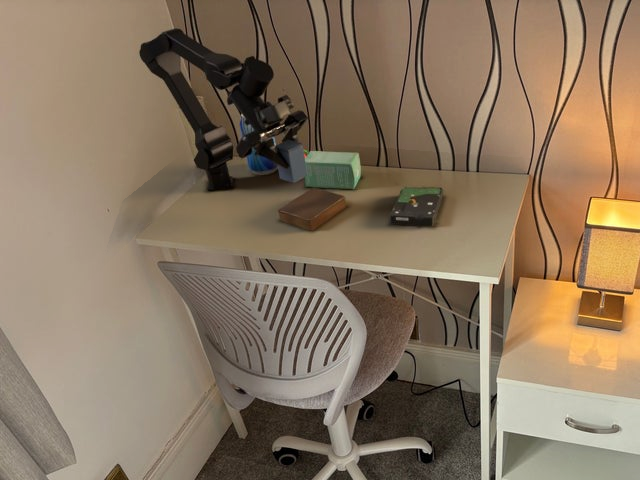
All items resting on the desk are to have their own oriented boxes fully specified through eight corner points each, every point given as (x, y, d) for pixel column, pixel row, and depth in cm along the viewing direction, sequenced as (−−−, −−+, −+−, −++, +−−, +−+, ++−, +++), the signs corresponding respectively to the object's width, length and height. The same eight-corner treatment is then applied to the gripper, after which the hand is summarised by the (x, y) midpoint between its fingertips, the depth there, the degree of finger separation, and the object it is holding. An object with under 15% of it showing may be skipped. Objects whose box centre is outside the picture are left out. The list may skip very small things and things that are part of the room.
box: (355, 190, 160) (352, 162, 156) (305, 188, 163) (301, 161, 158) (362, 177, 166) (359, 150, 161) (313, 176, 168) (309, 150, 164)
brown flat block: (279, 220, 150) (277, 209, 148) (315, 197, 158) (313, 187, 156) (311, 231, 145) (309, 220, 143) (346, 207, 153) (345, 196, 151)
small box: (279, 178, 146) (273, 146, 141) (293, 171, 149) (288, 139, 144) (293, 183, 144) (288, 150, 139) (307, 175, 146) (302, 143, 142)
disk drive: (434, 228, 143) (443, 196, 154) (434, 217, 141) (443, 186, 153) (390, 225, 145) (402, 195, 156) (389, 215, 143) (401, 185, 155)
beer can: (270, 177, 169) (259, 120, 159) (244, 174, 171) (231, 118, 162) (285, 164, 175) (275, 108, 165) (259, 161, 177) (248, 106, 168)
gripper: (233, 100, 130) (279, 161, 131) (296, 74, 141) (337, 130, 142) (217, 129, 139) (260, 186, 140) (277, 103, 150) (317, 155, 151)
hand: (295, 163), depth 143 cm, fingers closed on small box, 4 cm apart
